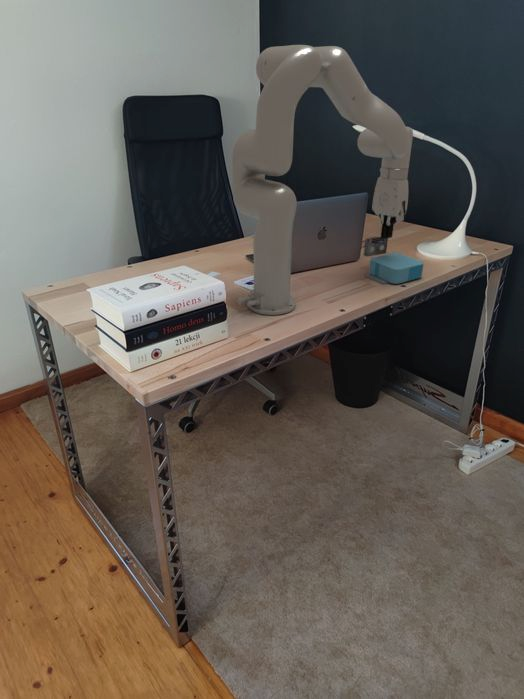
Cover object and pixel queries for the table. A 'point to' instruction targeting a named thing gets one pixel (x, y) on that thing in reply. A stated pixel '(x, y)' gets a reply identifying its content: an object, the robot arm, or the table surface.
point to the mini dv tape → (375, 246)
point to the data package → (396, 268)
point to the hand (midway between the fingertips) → (386, 237)
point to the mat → (376, 279)
